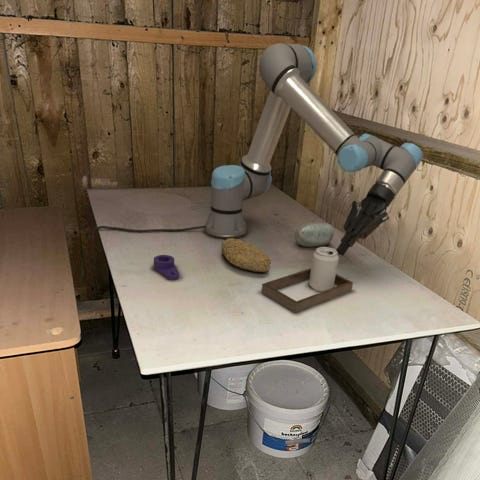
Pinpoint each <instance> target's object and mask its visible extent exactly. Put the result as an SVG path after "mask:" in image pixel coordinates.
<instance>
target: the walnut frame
mask: <svg viewBox="0 0 480 480" xmlns="http://www.w3.org/2000/svg"><path fill="white" fill-rule="evenodd" d="M310 272H311V267H309V268H307V269H304V270H301V271H297V272H295V273H291V274H288V275H285V276H282V277H278V278H276V279H273V280H269V281H267V282H264V283H261V294H262V295H264V296H266V297H268V299H269V298H270V299H271V300H272V301H274V302H276V303H277V304H279V305H281V306H282V307H283V308H286V309H287V310H289V311H291V312H292V313H294V314H297V313H299V312H302V311H305V310H307V309H309V308H312V307H314V306H317V305H320V304H322V303H325V302H328V301H330V300H332V299H335V298H337V297H340V296H343V295H345V294H348V293H351V292H352V291H353V286H354V281H351V280H349V279H347V278H345V277H343V276H341V275H339V274H337V273H336V276H335V282H334V287H333V288H331V289H328V290H326V291H323V292H322V291H319V292H318V293H315V294H312V295H310V296H307V297H304V298H302V299H299V300H296V299H293V298H291V297H290V296H288V295H286V294H285V293H283V292H281V291H280V289H283V288H287V287H288V286H292V285H295V284H298V283H301V282H304V281H307V280H309V278H310Z"/></svg>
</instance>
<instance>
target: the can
mask: <svg viewBox="0 0 480 480" xmlns="http://www.w3.org/2000/svg"><path fill="white" fill-rule="evenodd" d="M339 259H340V255H339V254H338V252H337V251H336V249H335V248H333V247H329V246H318V247H316V249H315V251H314V252H313V254H312V259H311V264H310V265H311V266H310V268H311V272H310V278H309V279H308V285H309V286H310V288H312V289H313V290H314V291H316V292H323V291H326V290H328V289H331V288H334V287H335V284H334V282H335V276H336V274H337V271H338V266H339Z"/></svg>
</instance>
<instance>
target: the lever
mask: <svg viewBox="0 0 480 480" xmlns="http://www.w3.org/2000/svg"><path fill="white" fill-rule="evenodd" d="M153 270H154V271H155V272H157V273H158V274H160V275H161V276H162V277H163V278H165V279H167V280H169V281H176V280H179V279H180V272H179V270H178V268H177V266H176V264H175V257H173V255H170V254H160V255H159V254H158V255H156V256H154V257H153Z"/></svg>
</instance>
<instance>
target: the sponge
mask: <svg viewBox="0 0 480 480" xmlns="http://www.w3.org/2000/svg"><path fill="white" fill-rule="evenodd" d="M221 253H222V254H223V256H224V257H225V259H226V260H227V261H228V262H229V263H230V264H231V265H233V266H235V267H238V268H240V269H242V270H248V271H251V272H256V273H257V272H258V273H265V272H267V271H269V270H270V269H271V264H272V260H271V258H270V257H269V256H268V254H267V253H266V252H264V250H261V249H260V248H259V247H257V246H255V245H253V244H248V243H247V242H244V241H243V240H241V239H239V238H230V239H224V241H222V243H221Z"/></svg>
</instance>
